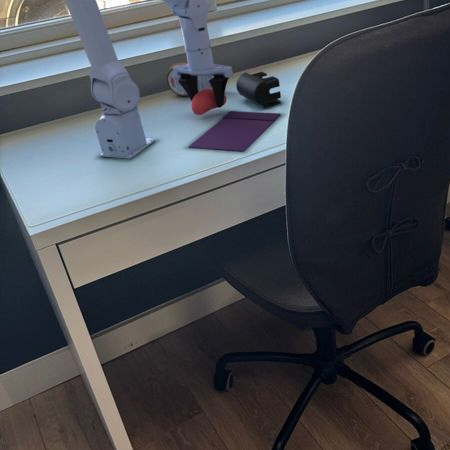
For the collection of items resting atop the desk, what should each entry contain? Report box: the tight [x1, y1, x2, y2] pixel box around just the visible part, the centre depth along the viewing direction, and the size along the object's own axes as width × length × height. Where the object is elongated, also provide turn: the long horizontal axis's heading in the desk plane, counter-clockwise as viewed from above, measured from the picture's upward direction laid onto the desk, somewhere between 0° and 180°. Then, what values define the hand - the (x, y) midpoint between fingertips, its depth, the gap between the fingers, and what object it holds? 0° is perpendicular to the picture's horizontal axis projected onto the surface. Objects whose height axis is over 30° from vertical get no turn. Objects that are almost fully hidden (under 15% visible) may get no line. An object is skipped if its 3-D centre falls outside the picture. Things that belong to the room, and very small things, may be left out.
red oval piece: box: [190, 89, 227, 116], centre depth 133 cm, size 5×9×6 cm, turn 126°
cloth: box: [188, 110, 282, 153], centre depth 125 cm, size 20×13×1 cm, turn 159°
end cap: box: [235, 71, 282, 109], centre depth 137 cm, size 10×7×7 cm
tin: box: [165, 61, 216, 97], centre depth 147 cm, size 15×3×8 cm, turn 84°
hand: (208, 105), depth 134 cm, fingers closed on red oval piece, 6 cm apart
